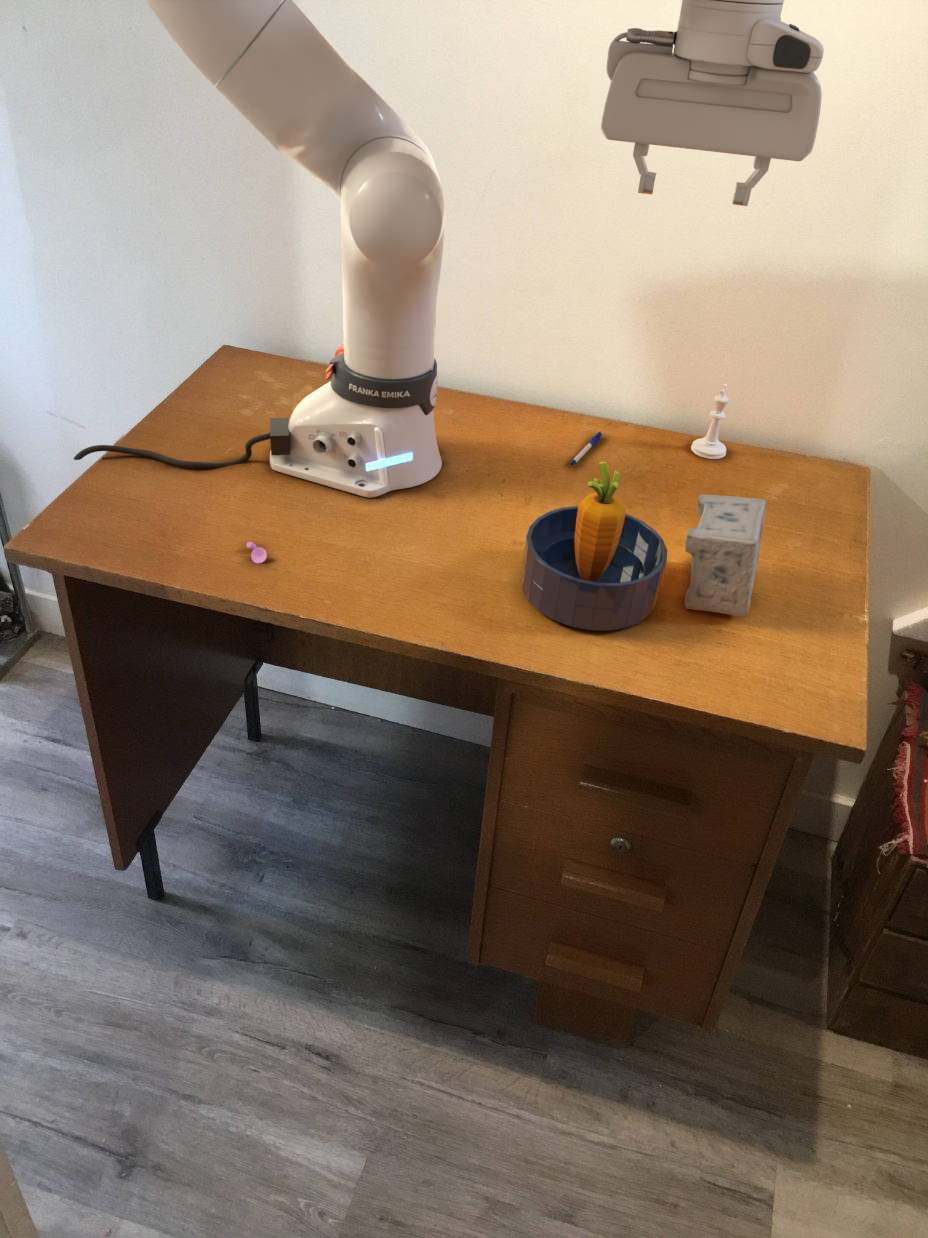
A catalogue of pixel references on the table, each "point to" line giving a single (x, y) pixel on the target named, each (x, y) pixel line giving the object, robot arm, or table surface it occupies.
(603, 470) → the carrot
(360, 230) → the robot arm
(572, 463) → the ballpoint pen
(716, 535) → the incense holder
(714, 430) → the chess piece
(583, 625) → the blue pet bowl
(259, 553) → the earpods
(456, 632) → the table surface
